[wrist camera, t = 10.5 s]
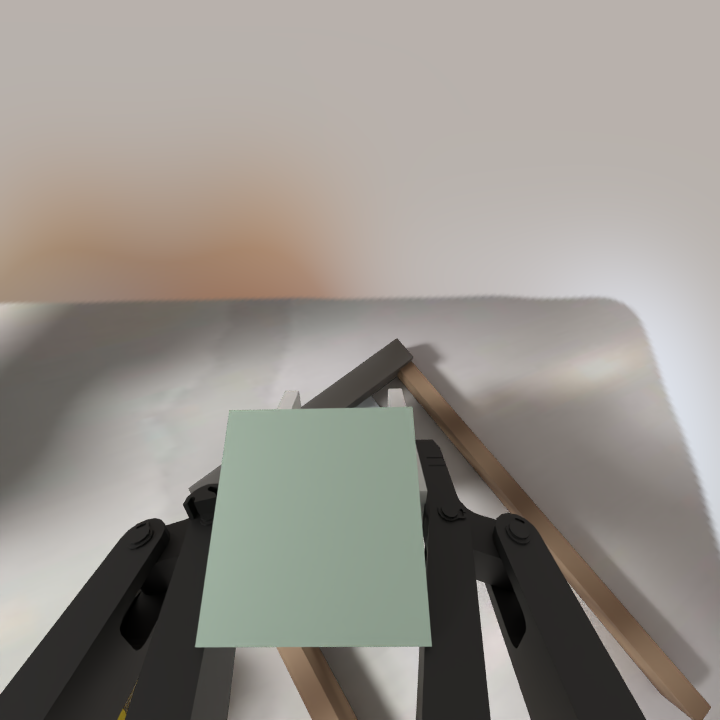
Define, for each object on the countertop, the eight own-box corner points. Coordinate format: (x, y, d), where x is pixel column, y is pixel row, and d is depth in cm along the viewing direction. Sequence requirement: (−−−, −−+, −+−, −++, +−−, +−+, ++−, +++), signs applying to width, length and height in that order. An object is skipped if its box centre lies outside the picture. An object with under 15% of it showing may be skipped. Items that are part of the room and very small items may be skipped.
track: (212, 483, 21) (188, 488, 18) (393, 351, 24) (397, 338, 22) (459, 964, 13) (483, 1100, 11) (672, 678, 17) (734, 724, 14)
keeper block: (309, 519, 17) (194, 647, 6) (312, 437, 19) (229, 410, 7) (388, 518, 17) (432, 647, 6) (385, 435, 19) (412, 406, 7)
